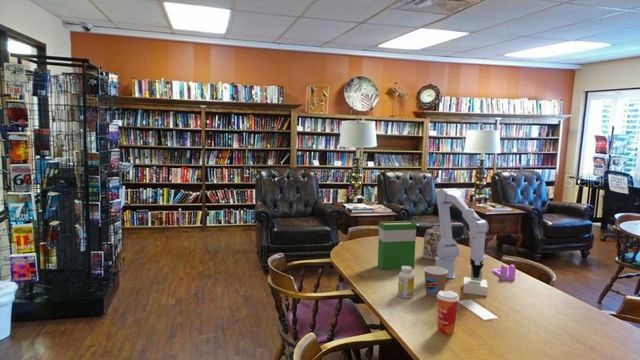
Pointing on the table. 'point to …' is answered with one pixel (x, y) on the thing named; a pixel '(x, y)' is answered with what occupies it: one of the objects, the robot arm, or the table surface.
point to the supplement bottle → (406, 282)
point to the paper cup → (447, 311)
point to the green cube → (476, 278)
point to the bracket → (505, 272)
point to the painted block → (475, 287)
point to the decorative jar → (431, 243)
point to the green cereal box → (396, 244)
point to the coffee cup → (434, 280)
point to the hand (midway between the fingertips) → (475, 275)
